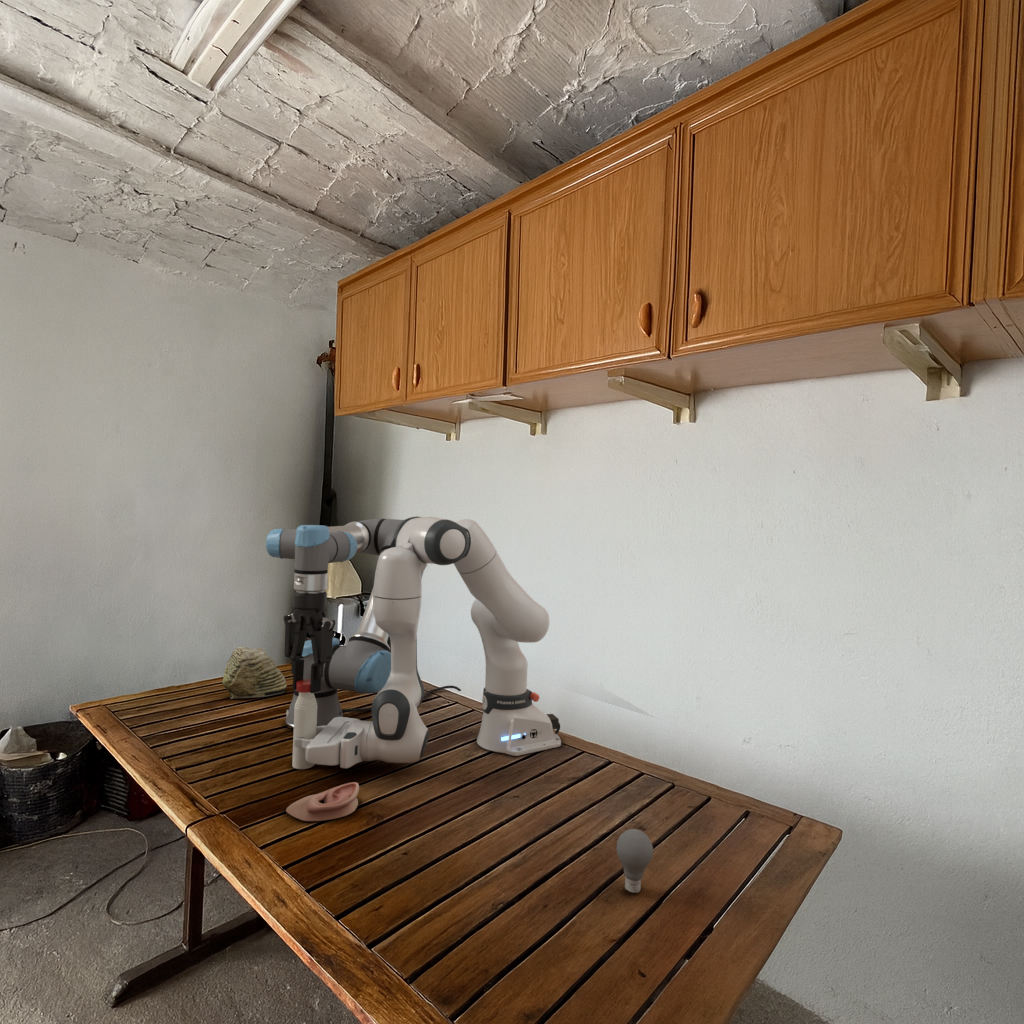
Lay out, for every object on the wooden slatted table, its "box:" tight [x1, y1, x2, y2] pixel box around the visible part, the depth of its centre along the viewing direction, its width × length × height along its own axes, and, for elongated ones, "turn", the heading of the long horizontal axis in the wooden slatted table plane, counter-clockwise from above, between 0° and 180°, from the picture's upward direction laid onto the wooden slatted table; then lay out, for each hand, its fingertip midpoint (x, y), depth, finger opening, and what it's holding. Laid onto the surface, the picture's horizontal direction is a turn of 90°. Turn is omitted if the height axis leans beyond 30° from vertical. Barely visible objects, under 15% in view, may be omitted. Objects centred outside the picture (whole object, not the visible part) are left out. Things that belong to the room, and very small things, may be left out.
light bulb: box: [615, 828, 654, 894], centre depth 106 cm, size 6×6×10 cm
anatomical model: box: [285, 781, 360, 822], centre depth 129 cm, size 13×4×12 cm
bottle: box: [291, 692, 317, 770], centre depth 149 cm, size 5×5×19 cm
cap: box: [296, 679, 311, 693], centre depth 149 cm, size 5×5×2 cm
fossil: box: [222, 646, 288, 699], centre depth 198 cm, size 9×18×15 cm, turn 132°
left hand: (306, 689), depth 149 cm, fingers closed on cap, 4 cm apart
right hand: (300, 736), depth 149 cm, fingers closed on bottle, 5 cm apart
